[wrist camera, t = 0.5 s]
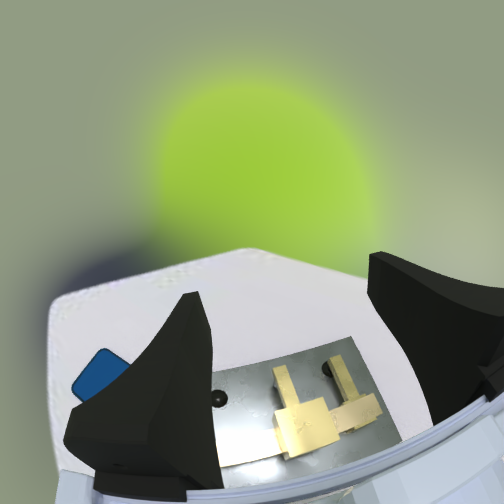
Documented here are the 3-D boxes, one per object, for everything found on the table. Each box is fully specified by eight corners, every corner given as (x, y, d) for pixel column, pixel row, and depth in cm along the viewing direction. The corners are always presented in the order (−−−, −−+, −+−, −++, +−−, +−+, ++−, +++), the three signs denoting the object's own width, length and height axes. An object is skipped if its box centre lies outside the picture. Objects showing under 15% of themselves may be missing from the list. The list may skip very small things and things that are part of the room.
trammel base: (398, 442, 21) (413, 435, 19) (203, 507, 17) (197, 510, 14) (349, 339, 31) (357, 324, 28) (175, 381, 27) (168, 369, 24)
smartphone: (103, 344, 29) (211, 409, 24) (106, 348, 29) (212, 412, 25) (68, 389, 24) (173, 469, 19) (72, 392, 24) (176, 470, 20)
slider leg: (323, 448, 20) (340, 439, 17) (281, 462, 20) (290, 457, 16) (294, 374, 26) (303, 350, 23) (256, 384, 26) (258, 362, 22)
